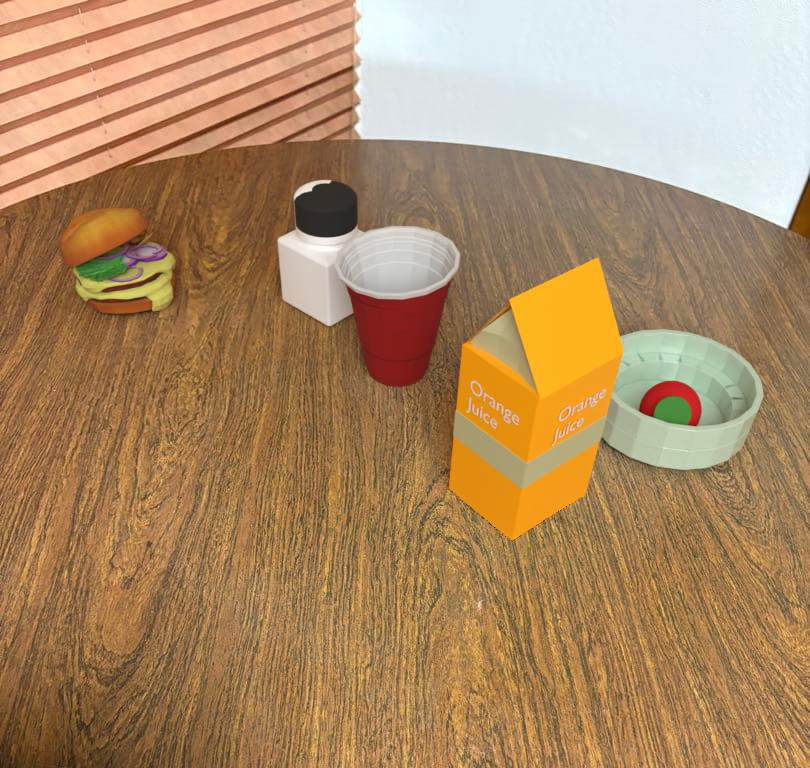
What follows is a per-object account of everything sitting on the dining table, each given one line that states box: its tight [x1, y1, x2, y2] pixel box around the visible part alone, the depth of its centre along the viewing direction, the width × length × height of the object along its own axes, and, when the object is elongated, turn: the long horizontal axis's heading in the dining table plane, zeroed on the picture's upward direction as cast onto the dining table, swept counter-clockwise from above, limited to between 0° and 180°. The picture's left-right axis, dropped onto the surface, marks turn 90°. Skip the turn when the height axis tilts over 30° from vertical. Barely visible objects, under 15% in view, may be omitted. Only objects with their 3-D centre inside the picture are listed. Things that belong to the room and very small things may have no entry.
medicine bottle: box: [277, 179, 366, 327], centre depth 85 cm, size 7×7×12 cm
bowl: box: [601, 328, 765, 471], centre depth 76 cm, size 14×14×5 cm
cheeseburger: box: [58, 207, 177, 315], centre depth 87 cm, size 10×11×10 cm
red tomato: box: [639, 381, 702, 426], centre depth 74 cm, size 5×5×6 cm
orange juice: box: [448, 256, 624, 544], centre depth 64 cm, size 8×9×20 cm
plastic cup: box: [334, 225, 461, 388], centre depth 78 cm, size 11×11×12 cm
